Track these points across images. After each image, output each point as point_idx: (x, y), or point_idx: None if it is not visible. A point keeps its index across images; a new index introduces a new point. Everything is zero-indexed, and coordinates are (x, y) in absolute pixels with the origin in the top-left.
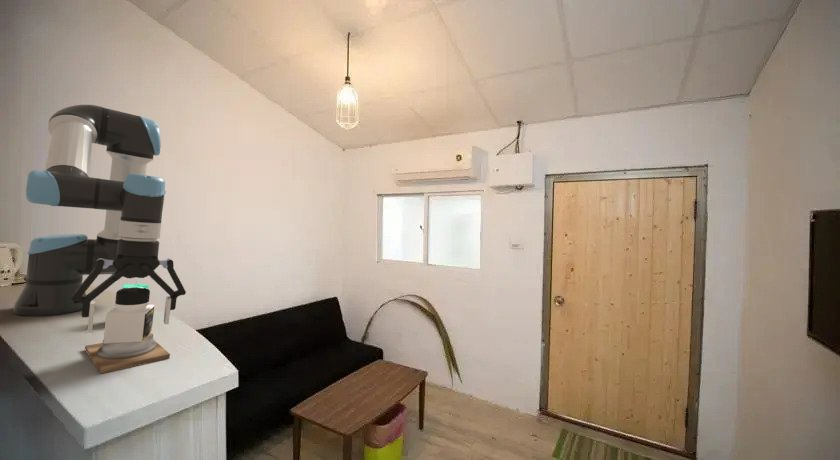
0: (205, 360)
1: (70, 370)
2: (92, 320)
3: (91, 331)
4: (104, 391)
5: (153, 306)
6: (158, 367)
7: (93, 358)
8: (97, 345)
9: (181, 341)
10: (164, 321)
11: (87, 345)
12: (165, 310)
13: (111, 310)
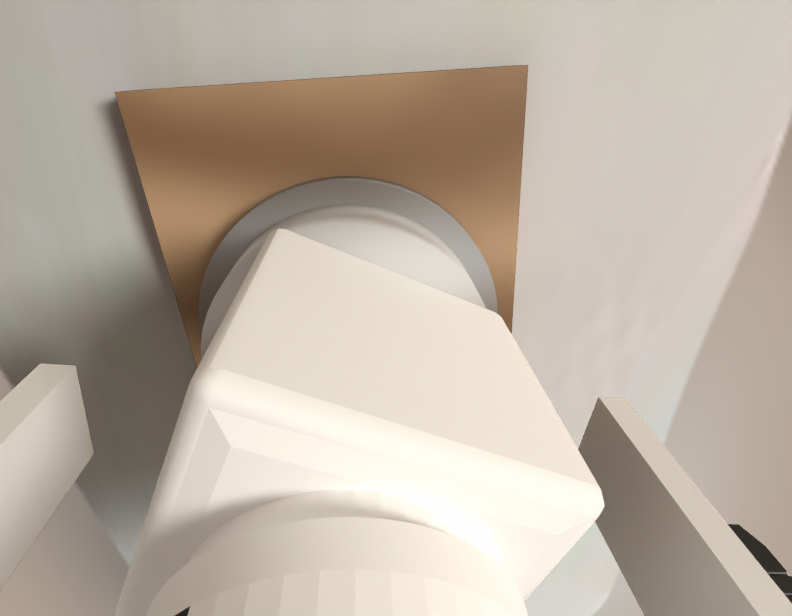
0: (593, 525)
1: (120, 387)
2: (23, 546)
3: (87, 459)
4: None
5: (578, 533)
6: None
7: (193, 352)
8: (192, 139)
9: (647, 251)
10: (586, 454)
11: (129, 96)
12: (646, 536)
13: (134, 609)
